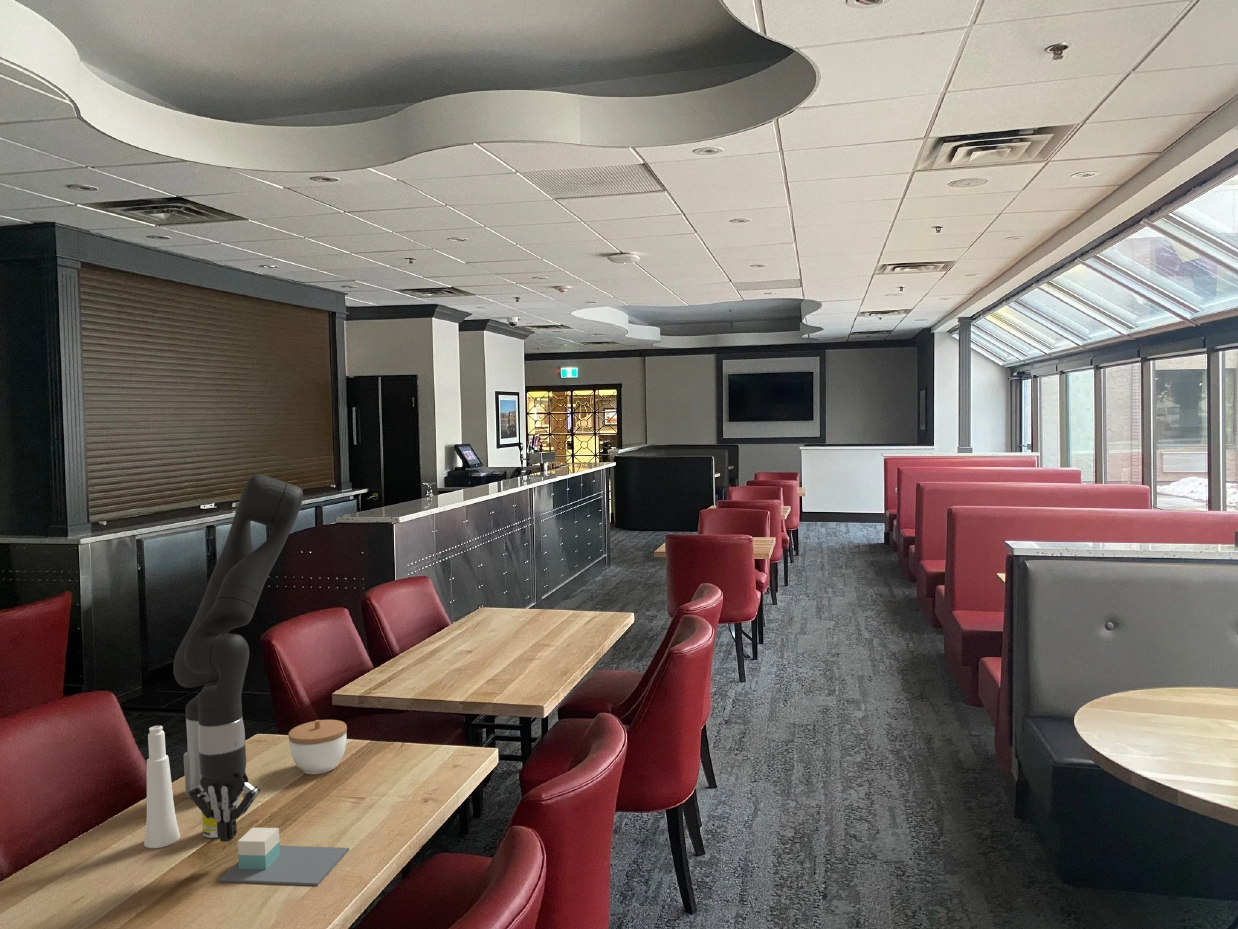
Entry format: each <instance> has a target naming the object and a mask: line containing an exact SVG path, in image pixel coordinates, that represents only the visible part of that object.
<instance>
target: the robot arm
mask: <svg viewBox="0 0 1238 929" xmlns="http://www.w3.org/2000/svg"><path fill="white" fill-rule="evenodd" d="M303 500H304V493H303V489H302V488H301V487H299V486H296V485H294V484H292V483H288V482H286V481H284V480H283V481H282V480H280V479H277V478H273V477H271V476H267V475H264V474H260V473H257V474H256V473H255V474H253V475H251V477H249V479H248V480H247V482H246V483H245V485H244V487H243V489H242V492H241V495H240V497H239V500H238V503H237V506H236V509H235V513H234V516H233V520H232V522H231V524H230V529H229V532H228V534H227V538H226V540H225V543H224V545H223V547H222V550H221V552H220V555H219V557H218V559H217V561H216V564H215V566H214V569H213V571H212V573H211V575H210V578H209V580H208V582H207V586H206V589H205V592H204V594H203V597H202V600H201V602H200V605H199V607H198V609H197V612H196V614H195V616H194V618H193V619H192V620H193V621H192V623H191V624H190V626H189V628H188V630H187V632H186V634H185V635H184V637H183V638H182V641H181V643H180V645H179V646H178V648H177V651H176V653H175V657H174V659H173V667H172V668H173V676H174V678H175V681H176V682H177V683H178V684H179V686H181V687H183V688H187V689H189V688H190V689H191V688H199V687H201V686H203V688H201V690H200V692H199V693H198V694H197V695H195V697H193V698H192V699H191V700H189V701H188V703H187V704H186V706H185V723H186V738H187V741H186V742H187V751H186V752H184V753H183V765H184V767H183V768H184V769H183V771H184V784H185V785H184V786H185V798H189V799H191V800H192V801H193V802H194V803H195V805H196V806H197V807H198V808H199V810H200V811H201V814H202V813H203V814H204V815H205V816H206V818H214V819H215V821H216V822H217V832H218V837H217V838H218V839H219V841H220V842H221V843H230V841H232V840H233V839H235V837H236V836H237V834H238V830H237V829H238V828H237V819H239V818H241V816H242V815H244V814H245V813H247V811H248V810H249V808H250V807H251V805H253V803H254V801H255V800H256V798H257V797H258V795H259V794H260V793H261V791H262V790H261V787H260V786H259V785H257V786H255V787H254V786H253V785H251V783H250V782H249V777H248V775H247V773H246V769H247V753H246V749H247V748H246V733H245V726H244V725H245V724H244V720H243V708H242V707H243V706H242V692H243V687H244V682H245V677H246V673H247V669H248V665H249V659H250V648H249V645H248V644H249V643H248V642H247V640H246V639H245V638H244V637H243V636H242V635H240V634H238V633H237V634H236V633H230V631H232V630H234V629H237V628H241V627H244V626H247V625H248V624H249V623H250V622H251V621H252V619H253V616H254V614H255V611H256V608H257V606H258V604H259V603H258V602H259V600H260V597H261V594H262V592H263V589H264V587H265V583H266V582H267V579H268V577H269V575H270V573H271V571H272V569H273V567H274V565H275V563H276V561H277V559H278V558H279V556H280V554H281V552H282V550H283V548H284V546H285V544H286V542H287V539H288V537H289V535H290V534H291V531H292V529H293V527H294V524H295V522H296V520H297V518H298V516H299V513H300V510H301V508H302V503H303ZM252 522H255V523H257V524H260V525H264V526H266V527H271V528H273V530H272V531H271V534H270V535H269V537H267V538H266V540H265V541H264V542H263V543H262V544H261V545H260V546H258V547H257V548H256V549H255V547H254V544H253V540H252V539H253V538H252V534H251V525H252V524H251V523H252ZM241 795H242V800H241V802H240V796H241ZM207 805H208V806H207ZM209 808H210V809H209Z"/></svg>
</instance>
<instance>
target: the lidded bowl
mask: <svg viewBox="0 0 1238 929" xmlns="http://www.w3.org/2000/svg"><path fill="white" fill-rule="evenodd" d="M347 731H348V727H347V724H346V722H344V721H342V720H338V719H316V720H314V721H309V722H306V723H302V724H299V725H297V726H295V727H293V728H292V729H290V730H289V732H288V740H289V750H290V755H291V758H292V760H293V762H294V764H295V765H296V766H297V767H298V768H299V769H301V770H302V772H303V773H305V774H307V775H321V774H325V773H328V772H330V771H333V770H334V769H335V768H337V765H338V764H339V763H340V761H341V760H343V759H342V758H343V757H344V754H345V751H346V747H347Z"/></svg>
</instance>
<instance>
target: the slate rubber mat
mask: <svg viewBox="0 0 1238 929" xmlns="http://www.w3.org/2000/svg"><path fill="white" fill-rule="evenodd" d="M349 851H350V848H349V847H338V846H337V847H336V846H333V847H329V846H307V845H306V846H305V845H280V856H279V857H278V858H277V859H276V860H275V861H274V862H273V863H272V864H271V865H270V866H269V867H268V868H267V869H239V861H237V863H235V865H232V867H231V868H230V869H229V870H227V871H226V873H224V874H223V875H222V876H221V877H219V879H218V882H220V883H221V882H224V883H248V884H267V885H268V884H271V885H294V886H295V885H297V886H316V887H317V886H319V885H320V884H321V883H322V881H323V880H324V879H325V878H326V877H327V876H328V875H329V873H330V872H331V871H332V870H333V869H334V868H335V867H336V866H337V865H338V863H339V862H340V861H341V860H342V859H343V857H344V856H346V854H347V853H348V852H349Z"/></svg>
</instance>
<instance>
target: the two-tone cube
mask: <svg viewBox="0 0 1238 929" xmlns="http://www.w3.org/2000/svg"><path fill="white" fill-rule="evenodd" d="M280 844H281V842H280V828H279V827H251V829H249V830H248V831H247V832H246V833H245V834H244V835H243V836H242V837H241V838H239V839H238V840H237V856H238V857H237V859H238V862H239V869H267V868H268V867H269V866H270V865H271V864H272V863H273V862H274V861H275V860H276V859H277V858H278V857H279V856H280V846H281V845H280Z"/></svg>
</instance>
